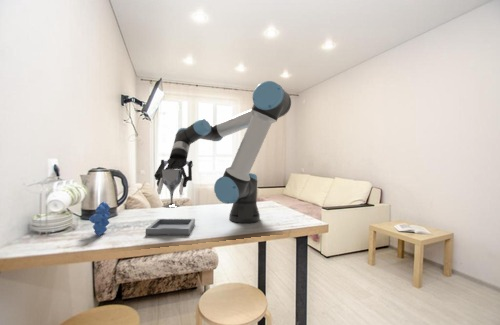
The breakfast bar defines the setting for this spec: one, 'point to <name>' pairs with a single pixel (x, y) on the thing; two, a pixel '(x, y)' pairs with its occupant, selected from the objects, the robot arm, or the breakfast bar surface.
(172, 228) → the tray
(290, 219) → the breakfast bar surface
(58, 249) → the breakfast bar surface
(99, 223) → the grapes
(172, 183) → the wine glass
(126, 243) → the breakfast bar surface
